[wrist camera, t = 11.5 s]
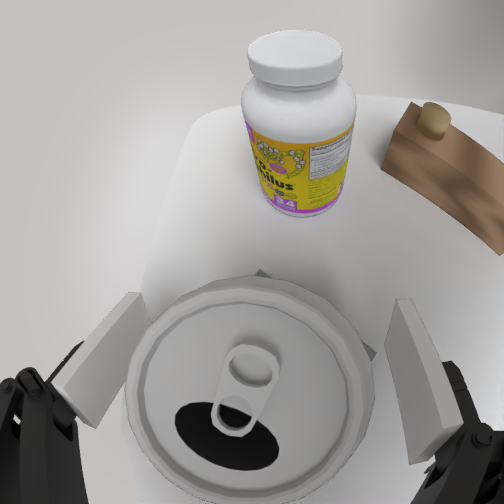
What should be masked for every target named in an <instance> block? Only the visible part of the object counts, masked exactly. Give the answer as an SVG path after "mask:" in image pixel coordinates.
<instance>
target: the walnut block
mask: <svg viewBox="0 0 504 504" xmlns="http://www.w3.org/2000/svg"><path fill="white" fill-rule="evenodd" d="M450 122H451V116H450V114H449V113H448V112H447V111H446V110H445V109H444V108H443V107H441V106H440V105H438V104H435V103H432V102H427V103H425V104H424V105H423V108H422V107H420V106H418V105H416V104H414V103H413V102H411V103H410V105H409V106H408V108H407V110H406V111H405V113H404V115H403V116H402V118H401V120H400V121H399V123H398V125H397V126H396V128H395V129H394V132H393V135H392V138H391V141H390V144H389V148H388V151H387V154H386V157H385V160H384V163H383V166H382V168H381V170H383V171H384V172H386V173H388V174H389V175H391V176H393V177H394V178H396V179H398V180H399V181H401V182H403V183H404V184H406V185H407V186H409V187H410V188H412V189H414V190H415V191H417V192H418V193H420V194H421V195H423V196H424V197H426V198H427V199H429V200H430V201H431V202H433V203H434V204H436V205H437V206H439V207H440V208H441V209H443V210H444V211H445V212H447V213H448V214H450V215H451V216H452V217H454V218H455V219H456V220H458V221H459V222H460V223H461V224H463V225H464V226H465V227H467V228H468V229H469V230H470V231H471V232H473V233H474V234H475V235H476V236H478V237H479V238H480V239H481V240H482V241H484V242H485V243H486V244H487V245H488V246H489V247H490V248H492V249H493V250H494V251H495V252H496V253H497V254H498V255H499V256H500V255H501V254H503V253H504V163H503V162H501V161H500V160H499V159H498V158H497V157H495V156H494V155H493V154H492V153H490V152H489V151H488V150H486V149H485V148H484V147H482V146H481V145H480V144H478V143H477V142H476V141H474V140H473V139H471V138H470V137H469V136H467V135H466V134H464V133H463V132H461V131H460V130H458V129H457V128H455V127H454V126H452V125H451V124H450Z"/></svg>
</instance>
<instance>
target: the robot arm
mask: <svg viewBox="0 0 504 504" xmlns="http://www.w3.org/2000/svg"><path fill="white" fill-rule="evenodd" d="M150 324H151V323H150V320H149V317H148V314H147V311H146V308H145V304H144V301H143V298H142V295H141V293H136V292H128V294H126V296H125V297H124V298H123V299H122V300H121V301H120V302H119V303H118V304H117V305H116V306H115V308H114V309H113V310H112V311H111V312H110V313H109V314H108V315H107V316H106V317H105V319H104V320H103V321H102V322H101V323H100V324H99V325H98V326H97V328H96V329H95V330H94V331H93V332H92V333H91V334H90V336H89V337H88V338H87V339H86V340H85V341H82V342H81V343H79V344H78V345H76V346H75V347H74V348H73V349H72V350H71V351H70V353H69V355H67V356H66V357H65V358H64V361H62V362H61V364H60V365H59V366H58V367H57V368H56V369H55V371H54V372H53V373H52V374H51V376H50V377H49V378H48V380H46V382H44V381H43V379H42V378H41V376H40V375H39V374H38V372H37V371H36V369H35V368H32V367H28V368H25V369H23V370H21V371H20V372H19V373H18V374H17V376H16V378H15V380H14V379H13V378H7V379H5V380H3V381H2V382H1V383H0V504H89V503H88V498H87V494H86V489H85V484H84V478H83V471H82V465H81V457H80V449H79V440H78V426H77V422H76V421H75V420H74V419H75V418H76V416H78V417H79V418H80V420H81V421H82V422H83V423H85V424H87V425H89V426H91V427H93V428H95V429H96V428H97V426H98V425H99V423H100V421H101V420H102V418H103V416H104V415H105V413H106V411H107V410H108V408H109V406H110V405H111V403H112V401H113V400H114V398H115V396H116V395H117V393H118V391H119V390H120V388H121V387H122V385H123V383H124V382H125V380H126V379H127V373H128V368H129V363H130V358H131V355H132V354H133V352H134V350H135V348H136V346H137V345H138V343H139V341H140V339H141V337H142V336H143V334H144V332H145V330H146V329H147V327H148V326H149V325H150ZM384 347H385V350H386V354H387V357H388V361H389V365H390V369H391V373H392V377H393V381H394V385H395V389H396V394H397V398H398V403H399V407H400V412H401V417H402V422H403V428H404V433H405V439H406V446H407V452H408V459H409V465H411V464H416V463H420V462H424V461H428V460H429V459H430V458H431V457H432V456H433V455H434V454H435V459H436V461H435V462H434V463H433V464H432V465H431V466H430V467H428V468H427V469H426V471H425V472H424V473H425V474H426V473H428V472H429V473H428V475H427V477H426V479H425V480H424V482H423V484H422V486H421V487H420V489H419V491H418V492H417V494H416V496H415V497H414V499H413V501H412V502H411V504H504V431H493V429H492V428H491V427H490V426H489V425H487V424H486V423H481V421H480V419H479V417H478V414H477V411H476V408H475V406H474V403H473V400H472V398H471V395H470V393H469V390H467V385H466V383H465V382H464V378H463V376H462V374H461V371H460V369H459V368H458V367H457V366H456V365H455V364H454V363H453V362H452V361H447V362H441V360H440V358H439V356H438V353H437V351H436V349H435V347H434V344H433V342H432V340H431V338H430V336H429V334H428V331H427V329H426V327H425V325H424V323H423V321H422V319H421V317H420V315H419V313H418V311H417V309H416V307H415V305H414V303H413V302H412V300H411V299H396V302H395V306H394V310H393V314H392V318H391V322H390V326H389V330H388V333H387V337H386V340H385V344H384ZM14 415H16V416H17V417H18V418H19V419H20V420H21V422H20V424H17V423H16V422H15V421H14V420H13V418H14Z"/></svg>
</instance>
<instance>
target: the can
mask: <svg viewBox="0 0 504 504" xmlns="http://www.w3.org/2000/svg"><path fill="white" fill-rule="evenodd" d="M125 396H126V405H127V413H128V420H129V423H130V426H131V428H132V430H133V432H134V435H135V437H136V439H137V441H138V443H139V446H140V448H141V450H142V452H143V453H144V454H145V455H146V457H147V458H148V459H149V460H150V461H151V463H152V464H153V465H154V466H155V467H156V468H157V469H158V471H159V472H160V473H161V474H162V475H163V476H164V477H165V478H166V479H167V480H169V481H170V482H172V483H173V484H175V485H176V486H178V487H179V488H181V489H183V490H184V491H186V492H187V493H189V494H191V495H192V496H194V497H196V498H199V499H202V500H205V501H208V502H212V503H215V504H284V503H288V502H291V501H294V500H297V499H300V498H303V497H305V496H307V495H308V494H310V493H311V492H313V491H314V490H316V489H317V488H319V487H320V486H322V485H323V484H324V483H326V482H327V481H329V480H330V479H331V478H333V477H334V476H335V475H336V474H337V472H338V471H339V470H340V468H342V467H343V466H344V465H345V463H346V462H347V461H348V459H349V458H350V457H351V455H352V454H353V452H354V451H355V450H356V448H357V447H358V445H359V444H360V442H361V441H362V439H363V438H364V436H365V434H366V430H367V427H368V423H369V420H370V416H371V412H372V408H373V404H374V400H375V397H374V385H373V375H372V366H371V361H370V359H369V357H368V354H367V352H366V350H365V348H364V346H363V344H362V342H361V340H360V338H359V336H358V334H357V332H356V330H355V328H354V326H353V325H352V324H351V323H350V322H349V321H348V320H347V319H346V318H345V317H344V316H343V315H342V314H341V313H340V312H339V311H338V310H337V309H336V308H334V307H333V306H332V305H331V304H330V303H329V302H328V301H327V300H326V299H324V298H322V297H320V296H318V295H316V294H314V293H312V292H310V291H308V290H306V289H304V288H302V287H300V286H299V285H297V284H295V283H293V282H289V281H283V280H277V279H271V278H265V277H259V276H246V277H238V278H231V279H224V280H216V281H213V282H211V283H209V284H207V285H205V286H203V287H200V288H198V289H196V290H194V291H192V292H190V293H188V294H185V295H183V296H182V297H181V298H180V299H178V300H177V301H176V302H175V303H174V304H172V305H171V306H170V307H169V308H168V309H167V310H166V311H165V312H163V313H162V314H161V315H160V316H159V317H158V318H157V319H156V320H155V321H154V322H153V323H152V324H150V325H149V326H148V327H147V329H146V330H145V332H144V334H143V336H142V337H141V339H140V341H139V343H138V345H137V346H136V348H135V350H134V352H133V354H132V355H131V358H130V363H129V368H128V373H127V379H126V384H125Z"/></svg>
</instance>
